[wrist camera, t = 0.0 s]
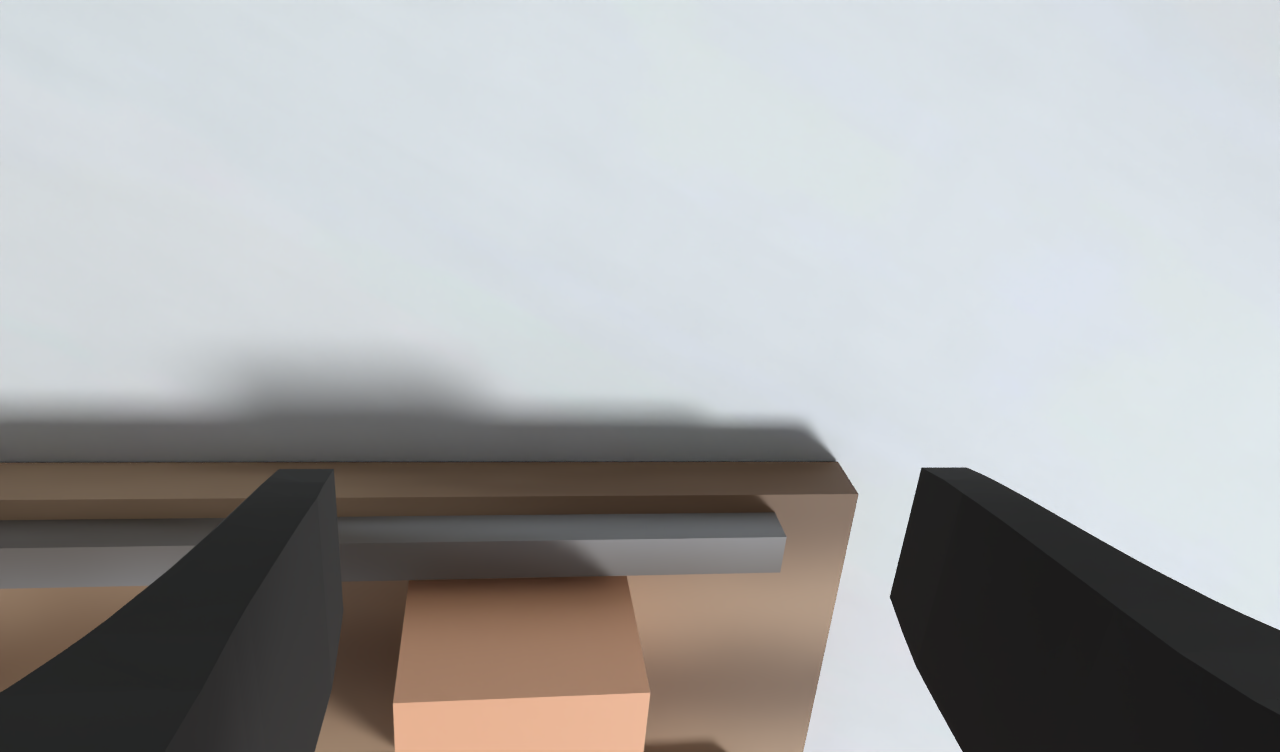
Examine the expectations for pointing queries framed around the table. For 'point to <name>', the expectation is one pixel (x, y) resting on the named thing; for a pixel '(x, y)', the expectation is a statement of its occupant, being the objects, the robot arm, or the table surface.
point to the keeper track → (478, 569)
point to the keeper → (520, 667)
